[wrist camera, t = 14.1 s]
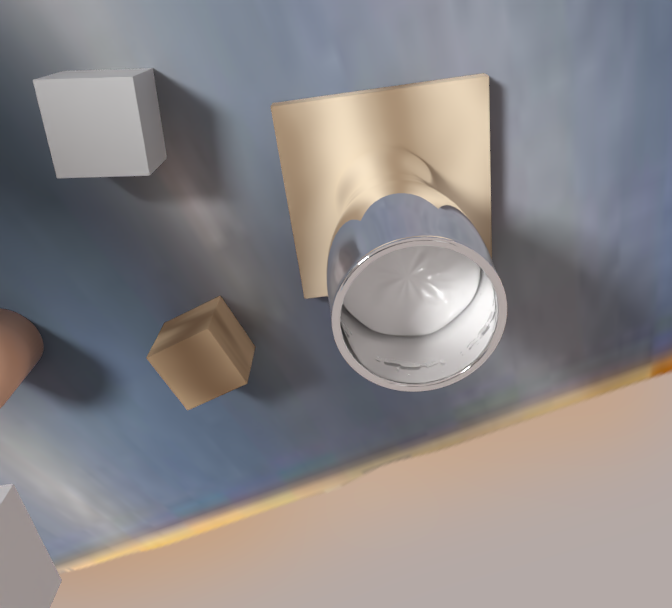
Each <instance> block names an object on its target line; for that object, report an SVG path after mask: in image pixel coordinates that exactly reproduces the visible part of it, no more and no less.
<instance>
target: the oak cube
mask: <svg viewBox="0 0 672 608" xmlns="http://www.w3.org/2000/svg"><path fill="white" fill-rule="evenodd" d="M254 351H255V346H254V344H253V343H252V341H251V340H250V338H249V337H248V335H247V334H246V332H245V331H244V329H243V328H242V327H241V325H240V324H239V322H238V321H237V319H236V318H235V316H234V315H233V313H232V312H231V310H230V309H229V308H228V306H227V305H226V303H225V302H224V300H223V299H222V297H221V296H218V297H216V298H214V299H212V300H210V301H208V302H206V303H204V304H202V305H200V306H198V307H196V308H194V309H192V310H190V311H188V312H186V313H184V314H182V315H180V316H178V317H176V318H174V319H172V320H170V321H168V322H166V323H164V325H163V327H162V328H161V330H160V332H159V334H158V336H157V338H156V340H155V342H154V344H153V346H152V348H151V350H150V352H149V354H148V356H147V360H148V361H149V362H150V363H151V365H152V366H153V367H154V368H155V370H156V371H157V372H158V374H159V375H160V376H161V377H162V379H163V380H164V381H165V382H166V384H167V385H168V386H169V387H170V389H171V390H172V391H173V393H174V394H175V395H176V396H177V398H178V399H179V400H180V401H181V403H182V404H183V405H184V407H185V408H186V409H187V410H190V409H192V408H194V407H196V406H198V405H201V404H203V403H205V402H207V401H210V400H212V399H214V398H216V397H219V396H221V395H223V394H225V393H227V392H230V391H232V390H234V389H236V388H239V387H241V386H243V385H245V384H247V383H248V378H249V373H250V369H251V364H252V360H253V355H254Z"/></svg>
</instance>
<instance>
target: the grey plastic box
mask: <svg viewBox="0 0 672 608" xmlns="http://www.w3.org/2000/svg"><path fill="white" fill-rule="evenodd" d="M33 83H34V87H35V91H36V96H37V100H38V104H39V108H40V112H41V116H42V120H43V124H44V128H45V132H46V136H47V140H48V144H49V148H50V152H51V156H52V160H53V164H54V168H55V172H56V177H57V178H85V177H118V176H150V175H151V174H152V173H153V172H154V171H155V170H156V169H157V168H158V167H159V166H160V165H161V164H162V163H163V162H164V161H165V160H166V159H167V154H166V148H165V142H164V135H163V129H162V123H161V116H160V110H159V104H158V97H157V91H156V85H155V78H154V72H153V68H139V69H108V70H77V71H61V72H58V73H54V74H51V75H48V76H44V77H41V78H37V79H34V80H33Z"/></svg>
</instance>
